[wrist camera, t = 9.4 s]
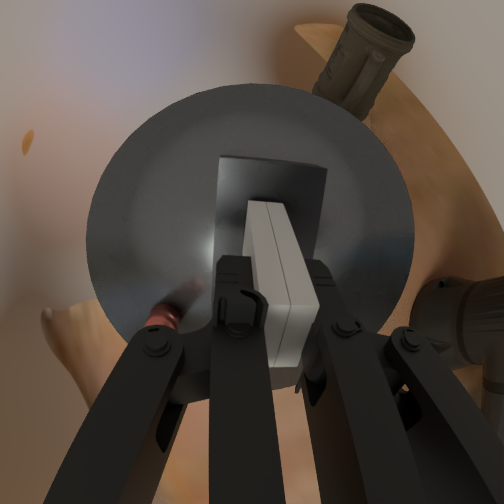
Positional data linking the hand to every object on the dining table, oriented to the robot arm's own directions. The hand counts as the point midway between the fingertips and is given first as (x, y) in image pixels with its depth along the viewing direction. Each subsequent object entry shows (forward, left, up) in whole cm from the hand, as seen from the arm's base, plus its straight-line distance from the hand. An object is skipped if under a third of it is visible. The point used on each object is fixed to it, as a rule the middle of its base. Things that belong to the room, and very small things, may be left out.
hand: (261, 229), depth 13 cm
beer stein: (-5, -34, -24) cm, 42 cm away
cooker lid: (0, 0, -5) cm, 5 cm away
